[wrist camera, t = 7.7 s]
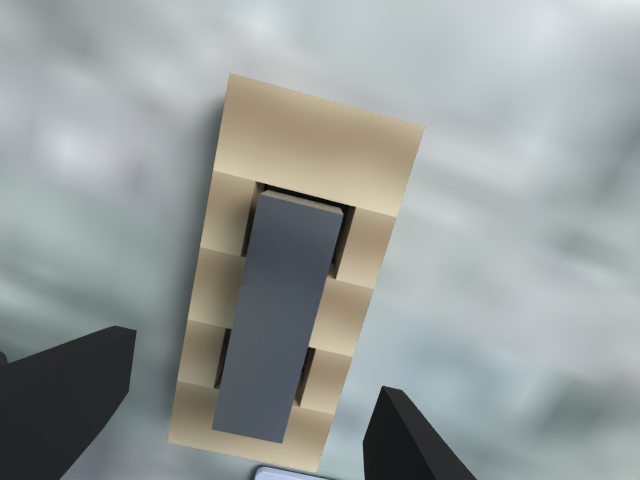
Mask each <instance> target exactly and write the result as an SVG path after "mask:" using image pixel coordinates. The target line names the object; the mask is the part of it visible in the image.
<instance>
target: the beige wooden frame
mask: <svg viewBox="0 0 640 480" xmlns="http://www.w3.org/2000/svg"><path fill="white" fill-rule="evenodd" d="M424 129H425V127H424V126H420V125H417V124H413V123H409V122H406V121H402V120H398V119H395V118H391V117H388V116H384V115H380V114H377V113H373V112H369V111H366V110H362V109H358V108H355V107H351V106H348V105H344V104H340V103H337V102H333V101H329V100H326V99H322V98H318V97H315V96H311V95H308V94H304V93H300V92H297V91H293V90H289V89H286V88H282V87H279V86H275V85H271V84H268V83H264V82H260V81H257V80H253V79H249V78H246V77H242V76H239V75H235V74H231V73H230V74H229V80H228V86H227V92H226V98H225V103H224V109H223V115H222V121H221V127H220V133H219V139H218V144H217V150H216V156H215V162H214V168H213V174H212V180H211V185H210V191H209V197H208V203H207V209H206V215H205V221H204V226H203V232H202V238H201V244H200V250H199V256H198V261H197V267H196V273H195V279H194V285H193V291H192V297H191V302H190V308H189V314H188V320H187V326H186V332H185V338H184V343H183V349H182V355H181V361H180V367H179V373H178V379H177V384H176V390H175V396H174V402H173V408H172V414H171V420H170V425H169V431H168V437H167V442H168V443H173V444H178V445H183V446H188V447H193V448H198V449H202V450H207V451H212V452H217V453H222V454H227V455H232V456H237V457H242V458H246V459H251V460H256V461H261V462H266V463H271V464H276V465H281V466H285V467H290V468H295V469H300V470H305V471H310V472H315V473H316V471H317V468H318V465H319V462H320V459H321V456H322V452H323V449H324V446H325V443H326V440H327V436H328V433H329V430H330V427H331V424H332V421H333V417H334V414H335V411H336V408H337V405H338V402H339V398H340V395H341V392H342V389H343V386H344V382H345V379H346V376H347V373H348V370H349V367H350V363H351V360H352V357H353V354H354V351H355V348H356V344H357V341H358V338H359V335H360V332H361V329H362V325H363V322H364V319H365V316H366V313H367V309H368V306H369V303H370V300H371V297H372V294H373V290H374V287H375V284H376V281H377V278H378V275H379V271H380V268H381V265H382V262H383V259H384V256H385V252H386V249H387V246H388V243H389V240H390V236H391V233H392V230H393V227H394V224H395V221H396V217H397V214H398V211H399V208H400V205H401V202H402V198H403V195H404V192H405V189H406V186H407V182H408V179H409V176H410V173H411V170H412V167H413V163H414V160H415V157H416V154H417V151H418V148H419V144H420V141H421V138H422V135H423V132H424ZM265 184H269V185H273V186H277V187H281V188H285V189H288V190H292V191H296V192H300V193H304V194H308V195H312V196H316V197H320V198H323V199H327V200H331V201H335V202H339V203H343V204H347V205H349V209H348V212H347V216H346V220H345V223H344V227H343V230H342V234H341V238H340V241H339V245H338V249H337V252H336V256H335V259H334V263H331V264H330V267H329V271H328V275H327V279H326V282H325V286H324V290H323V293H322V297H321V301H320V305H319V308H318V312H317V316H316V319H315V323H314V327H313V331H312V334H311V338H310V342H309V346H308V347H310V350H309V353H308V357H307V360H306V364H305V368H304V371H303V374H301V375H300V379H299V383H298V386H297V390H296V394H295V398H294V401H293V405H292V409H291V412H290V416H289V420H288V424H287V427H286V431H285V435H284V438H283V442H282V444H280V443H275V442H270V441H265V440H260V439H255V438H251V437H246V436H241V435H236V434H231V433H226V432H221V431H216V430H211V429H212V424H213V419H214V414H215V409H216V404H217V399H218V395H219V390H220V385H221V380H222V375H223V370H224V365H225V360H226V355H227V350H228V345H229V340H230V335H231V330H232V325H233V320H234V315H235V311H236V306H237V301H238V296H239V291H240V286H241V281H242V276H243V271H244V266H245V261H246V256H247V251H248V246H249V241H250V236H251V231H252V227H253V222H254V217H255V212H256V207H257V202H258V197H259V194H260V193H262V192H263V191H264V186H265Z"/></svg>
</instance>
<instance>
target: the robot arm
mask: <svg viewBox="0 0 640 480" xmlns="http://www.w3.org/2000/svg"><path fill="white" fill-rule="evenodd" d="M136 331H137V330H132V329H128V328H123V327H119V326H112V327H109V328H105V329H102V330H100V331H97V332H94V333H91V334H88V335H86V336H83V337H80V338H78V339H75V340H72V341H70V342H67V343H64V344H61V345H59V346H56V347H53V348H51V349H48V350H45V351H42V352H40V353H37V354H34V355H31V356H29V357H26V358H23V359H21V360H18V361H15V362H12V363H9V364H6V365H3V366H0V480H59V479H60V478H61V477H62V476H63V475H64V474H65V473H66V471H67V470H68V469H69V468H70V467H71V466H72V464H73V463H74V462H75V461H76V460H77V459H78V457H79V456H80V455H81V454H82V453H83V452H84V450H85V449H86V448H87V447H88V446H89V445H90V443H91V442H92V441H93V440H94V439H95V438H96V436H97V435H98V434H99V433H100V432H101V430H102V429H103V428H104V426H105V425H106V424H107V422H108V421H109V419H110V418H111V417H112V415H113V414H114V412H115V411H116V409H117V408H118V407H119V405H120V404H121V402H122V401H123V399H124V398H125V396H126V395H127V393H128V391H129V384H130V376H131V369H132V361H133V354H134V346H135V338H136ZM363 457H364V474H365V480H477V479H476V478H475V477H474V476H473V475H472V474H471V472H470V471H469V470H468V469H467V468H466V467H465V465H464V464H463V463H462V462H461V461H460V460H459V458H458V457H457V456H456V455H455V454H454V452H453V451H452V450H451V449H450V448H449V446H448V445H447V444H446V443H445V442H444V440H443V439H442V438H441V437H440V436H439V434H438V433H437V432H436V431H435V429H434V428H433V427H432V426H431V424H430V423H429V422H428V421H427V419H426V418H425V417H424V416H423V415H422V413H421V412H420V411H419V410H418V408H417V407H416V406H415V405H414V403H413V402H412V401H411V400H410V399H409V397H408V396H407V395H406V394H405V393H404V392H403V391H402V390H399V389H395V388H390V387H386V386H382V388H381V391H380V394H379V397H378V399H377V402H376V405H375V408H374V411H373V414H372V417H371V420H370V423H369V425H368V428H367V431H366V434H365V437H364V440H363ZM254 480H328V479H323V478H318V477H313V476H308V475H303V474H298V473H294V472H289V471H284V470H279V469H274V468H269V467H260V468H259V469H258V470H257V471H256V475H255V479H254Z"/></svg>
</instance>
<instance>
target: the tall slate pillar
mask: <svg viewBox="0 0 640 480" xmlns="http://www.w3.org/2000/svg"><path fill="white" fill-rule="evenodd" d="M342 219H343V213H342V211H341V209H340V208H339V207H335V206H331V205H327V204H323V203H319V202H315V201H311V200H307V199H303V198H299V197H295V196H291V195H287V194H283V193H279V192H275V191H271V190H267V191H265V192H262V193H260V194H259V197H258V202H257V207H256V212H255V217H254V222H253V227H252V231H251V236H250V241H249V246H248V251H247V256H246V261H245V266H244V271H243V276H242V281H241V286H240V291H239V296H238V301H237V306H236V311H235V315H234V320H233V325H232V330H231V335H230V340H229V345H228V350H227V355H226V360H225V365H224V370H223V375H222V380H221V385H220V390H219V395H218V399H217V404H216V409H215V414H214V419H213V424H212V429H211V430H216V431H221V432H226V433H231V434H236V435H241V436H246V437H251V438H255V439H260V440H265V441H270V442H275V443H280V444H282V442H283V438H284V435H285V431H286V427H287V424H288V420H289V416H290V412H291V409H292V405H293V401H294V398H295V394H296V390H297V386H298V383H299V379H300V375H301V372H302V368H303V364H304V360H305V357H306V353H307V349H308V346H309V342H310V338H311V334H312V331H313V327H314V323H315V319H316V316H317V312H318V308H319V305H320V301H321V297H322V293H323V290H324V286H325V282H326V279H327V275H328V271H329V267H330V264H331V260H332V256H333V253H334V249H335V245H336V241H337V238H338V234H339V230H340V227H341V223H342Z"/></svg>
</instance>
